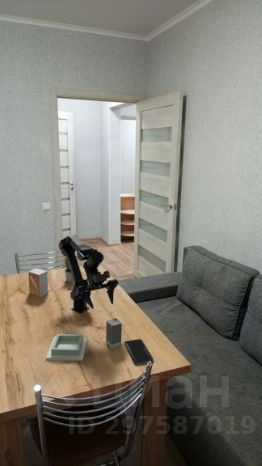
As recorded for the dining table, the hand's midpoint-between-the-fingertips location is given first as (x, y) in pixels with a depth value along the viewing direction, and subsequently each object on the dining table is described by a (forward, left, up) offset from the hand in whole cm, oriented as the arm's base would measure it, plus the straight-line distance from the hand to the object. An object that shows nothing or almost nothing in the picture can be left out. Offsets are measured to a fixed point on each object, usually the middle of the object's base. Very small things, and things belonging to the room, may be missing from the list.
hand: (103, 306), depth 139 cm
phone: (+2, +19, -14) cm, 24 cm away
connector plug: (+3, +8, -14) cm, 16 cm away
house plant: (-36, -51, -14) cm, 64 cm away
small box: (-11, -53, -14) cm, 56 cm away
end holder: (+17, -5, -13) cm, 22 cm away
